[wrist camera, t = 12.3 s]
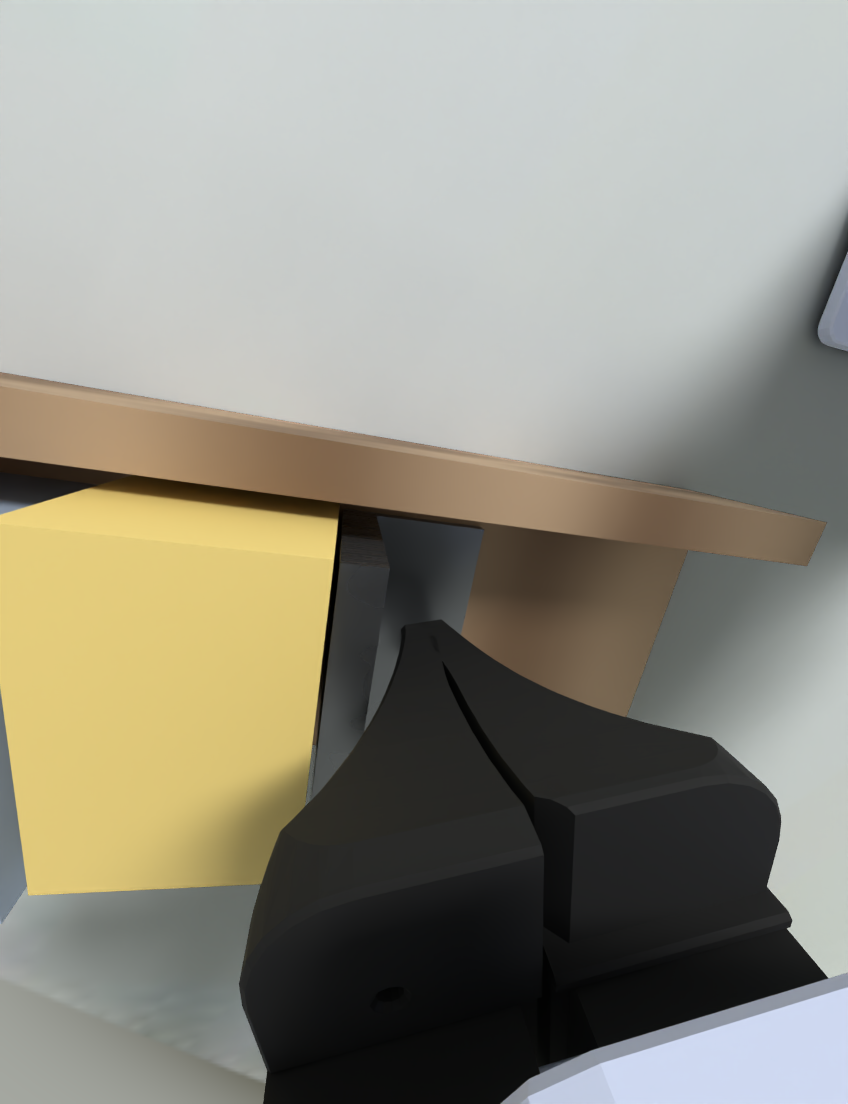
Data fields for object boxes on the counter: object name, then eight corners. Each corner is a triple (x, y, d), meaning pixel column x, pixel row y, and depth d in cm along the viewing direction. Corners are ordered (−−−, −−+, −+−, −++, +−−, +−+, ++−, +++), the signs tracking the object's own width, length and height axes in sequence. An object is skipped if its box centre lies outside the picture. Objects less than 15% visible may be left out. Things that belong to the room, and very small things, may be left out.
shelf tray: (687, 489, 13) (921, 544, 8) (601, 733, 15) (730, 900, 10) (-200, 338, 8) (-1104, 219, 3) (-114, 714, 11) (-534, 991, 6)
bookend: (480, 526, 11) (546, 584, 8) (437, 726, 13) (472, 853, 9) (343, 508, 10) (340, 562, 7) (317, 722, 12) (303, 859, 9)
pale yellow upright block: (340, 492, 10) (334, 559, 6) (316, 702, 12) (295, 886, 7) (160, 466, 10) (-22, 521, 5) (161, 696, 11) (29, 899, 7)
